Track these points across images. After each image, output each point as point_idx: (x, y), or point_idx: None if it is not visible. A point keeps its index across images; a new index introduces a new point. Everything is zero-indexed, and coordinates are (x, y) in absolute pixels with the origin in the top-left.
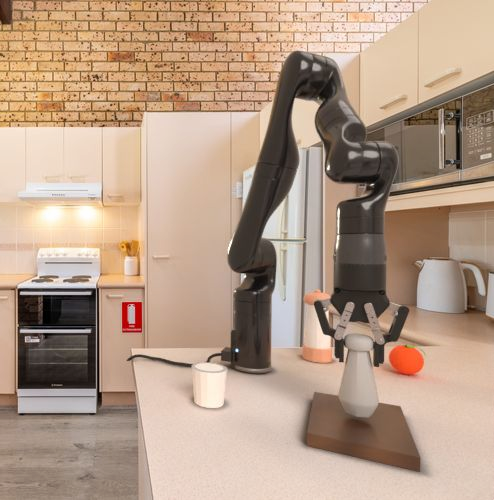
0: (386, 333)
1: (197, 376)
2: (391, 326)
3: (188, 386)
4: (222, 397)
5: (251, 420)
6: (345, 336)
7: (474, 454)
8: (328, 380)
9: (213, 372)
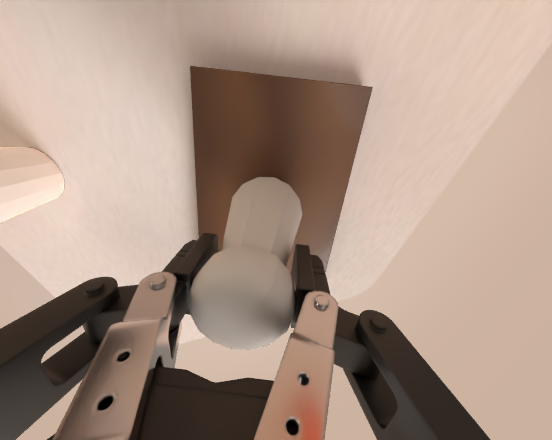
0: (349, 347)
1: None
2: (389, 381)
3: None
4: (49, 188)
5: (126, 218)
6: (190, 313)
7: (412, 211)
8: None
9: None
